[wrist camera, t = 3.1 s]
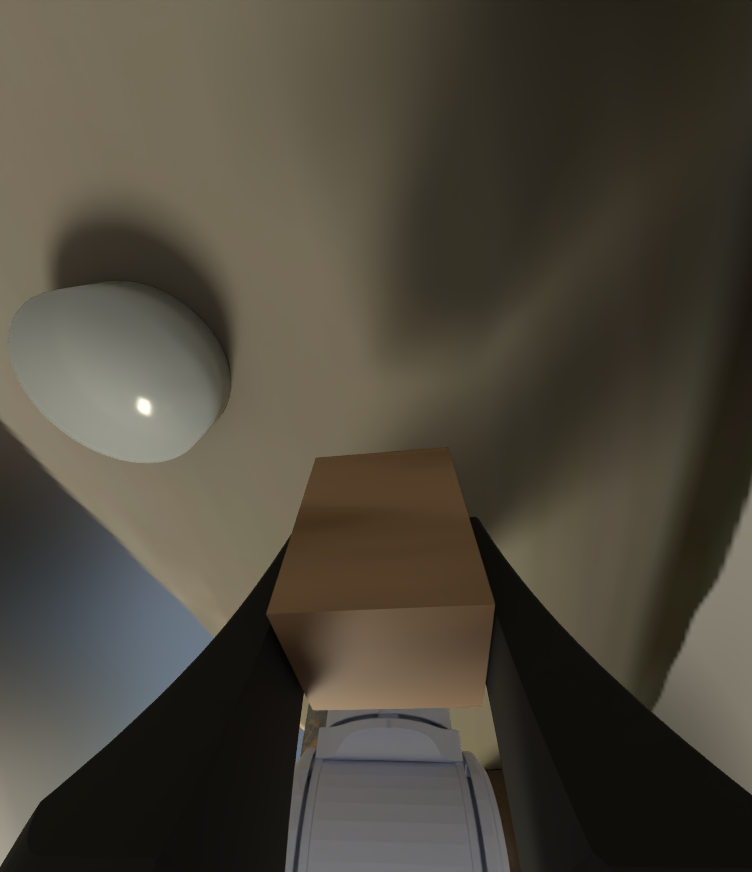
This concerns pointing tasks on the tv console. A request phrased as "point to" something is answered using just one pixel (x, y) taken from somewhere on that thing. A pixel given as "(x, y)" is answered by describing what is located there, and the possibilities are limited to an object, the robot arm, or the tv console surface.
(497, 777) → the plant pot
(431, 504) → the walnut block
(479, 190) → the tv console surface
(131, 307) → the pale grey round disc
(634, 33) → the tv console surface
